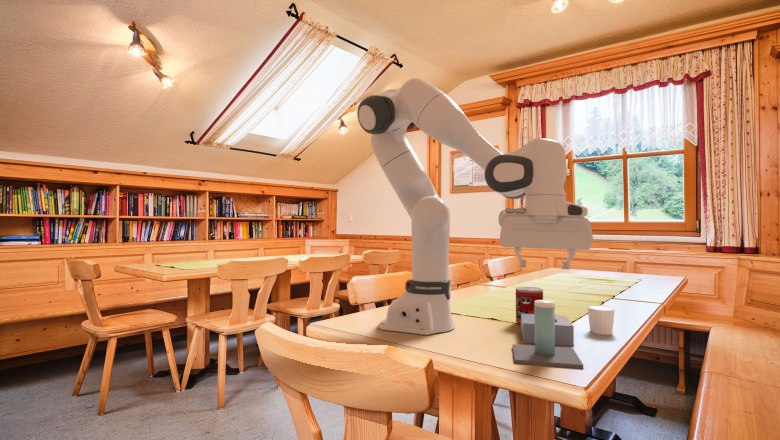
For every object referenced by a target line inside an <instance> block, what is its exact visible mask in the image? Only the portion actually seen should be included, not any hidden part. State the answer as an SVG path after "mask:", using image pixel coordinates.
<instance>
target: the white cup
mask: <svg viewBox="0 0 780 440" xmlns="http://www.w3.org/2000/svg"><path fill="white" fill-rule="evenodd" d="M615 310H616V309H615V308H614V307H610V306H606V305H605V306H604V305H590V306H589V305H588V306H587V313H588V314H587V315H588V322H589V331H590V333H592V334H596V335H601V336H603V335H604V336H611V335H612V334H613V333H614V332H613V329H614V321H615V320H614V319H615Z"/></svg>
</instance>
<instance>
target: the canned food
mask: <svg viewBox="0 0 780 440" xmlns="http://www.w3.org/2000/svg"><path fill="white" fill-rule="evenodd" d="M535 300H544V289H543V288H541V287H538V286H517V287H515V322H516V324H517V325H518V326H521V314H535V313H534V301H535Z"/></svg>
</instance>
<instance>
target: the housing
mask: <svg viewBox="0 0 780 440" xmlns="http://www.w3.org/2000/svg"><path fill="white" fill-rule="evenodd" d="M520 332H521V336H522V340H523V341H522V342H523V343H525V344H535V314H521V325H520ZM574 335H575V333H574V325H573V324H572V322H571V321H570V320H569V318H568V317H567V316H566V315H559V314H558V315H557V314H555V346H569V347H571V346H572V347H574V345H575V344H574V341H575V339H574Z"/></svg>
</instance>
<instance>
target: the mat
mask: <svg viewBox="0 0 780 440" xmlns="http://www.w3.org/2000/svg"><path fill="white" fill-rule="evenodd" d="M512 353H513V360H514V364H519V365H520V364H521V365H532V366H533V365H534V366H544V367H546V366H547V367H560V368H569V369H570V368H571V369H582V370H583V369H584V363H583V362H582V360H581V359H580V357H579V356H578V354H577V352H576V350H575V349H574V348H572V347H562V346H561V347H559V346H558V347H557V346H555V355H554V356H551V357H546V356H540V355H537V354H535V345H530V344H516V343H515V344H514V343H512Z"/></svg>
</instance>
